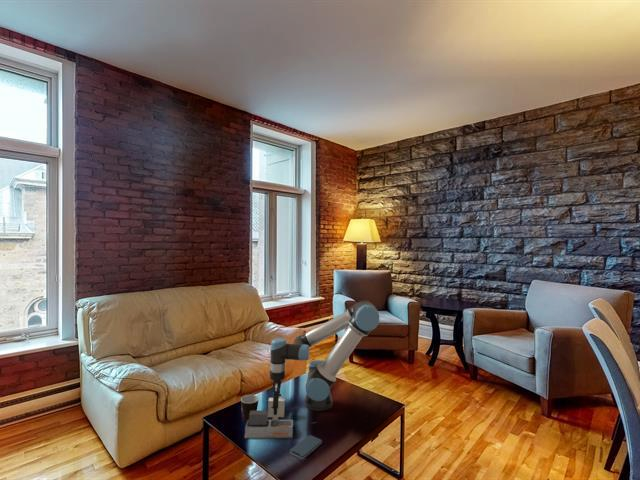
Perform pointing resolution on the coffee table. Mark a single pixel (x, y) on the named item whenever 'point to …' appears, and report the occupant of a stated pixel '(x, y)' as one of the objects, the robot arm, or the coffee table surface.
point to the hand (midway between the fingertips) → (275, 414)
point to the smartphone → (305, 447)
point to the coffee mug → (248, 405)
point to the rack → (267, 426)
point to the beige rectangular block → (280, 407)
